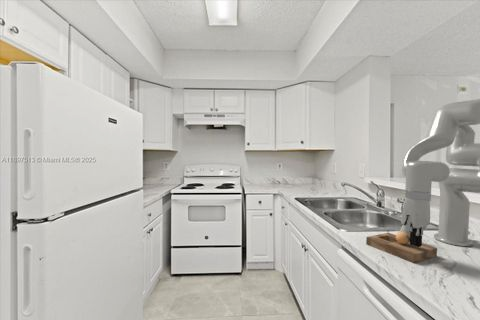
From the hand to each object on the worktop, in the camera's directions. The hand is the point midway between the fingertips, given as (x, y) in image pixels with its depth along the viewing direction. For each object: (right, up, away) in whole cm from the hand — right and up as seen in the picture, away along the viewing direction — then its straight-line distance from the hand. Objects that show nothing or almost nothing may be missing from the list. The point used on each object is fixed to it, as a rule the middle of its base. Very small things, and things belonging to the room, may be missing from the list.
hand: (415, 245), depth 86 cm
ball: (-2, +1, +3) cm, 4 cm away
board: (-2, -4, +5) cm, 7 cm away
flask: (+7, -4, +15) cm, 17 cm away
